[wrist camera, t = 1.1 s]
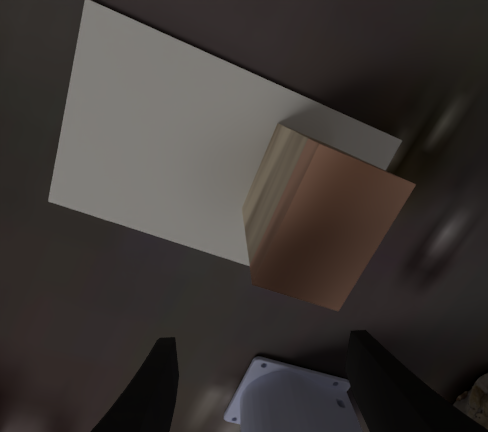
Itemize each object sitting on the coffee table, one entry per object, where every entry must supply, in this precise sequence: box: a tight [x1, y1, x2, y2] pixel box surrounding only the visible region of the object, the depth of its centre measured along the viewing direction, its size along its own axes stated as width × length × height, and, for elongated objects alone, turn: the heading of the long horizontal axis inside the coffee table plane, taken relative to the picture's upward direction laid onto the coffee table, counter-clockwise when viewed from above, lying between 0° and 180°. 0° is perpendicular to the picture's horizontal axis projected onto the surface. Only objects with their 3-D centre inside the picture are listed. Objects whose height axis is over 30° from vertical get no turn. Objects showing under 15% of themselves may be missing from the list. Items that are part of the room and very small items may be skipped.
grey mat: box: [48, 0, 402, 266], centre depth 20 cm, size 20×12×1 cm, turn 68°
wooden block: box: [242, 123, 416, 311], centre depth 16 cm, size 4×6×9 cm, turn 158°
